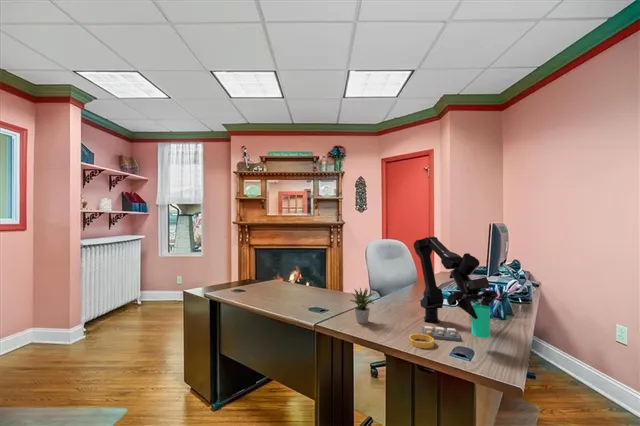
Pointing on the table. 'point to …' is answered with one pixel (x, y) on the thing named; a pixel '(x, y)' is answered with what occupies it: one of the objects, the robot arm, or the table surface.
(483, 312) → the candle
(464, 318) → the table surface
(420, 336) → the ring
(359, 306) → the house plant
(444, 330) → the breaker panel
